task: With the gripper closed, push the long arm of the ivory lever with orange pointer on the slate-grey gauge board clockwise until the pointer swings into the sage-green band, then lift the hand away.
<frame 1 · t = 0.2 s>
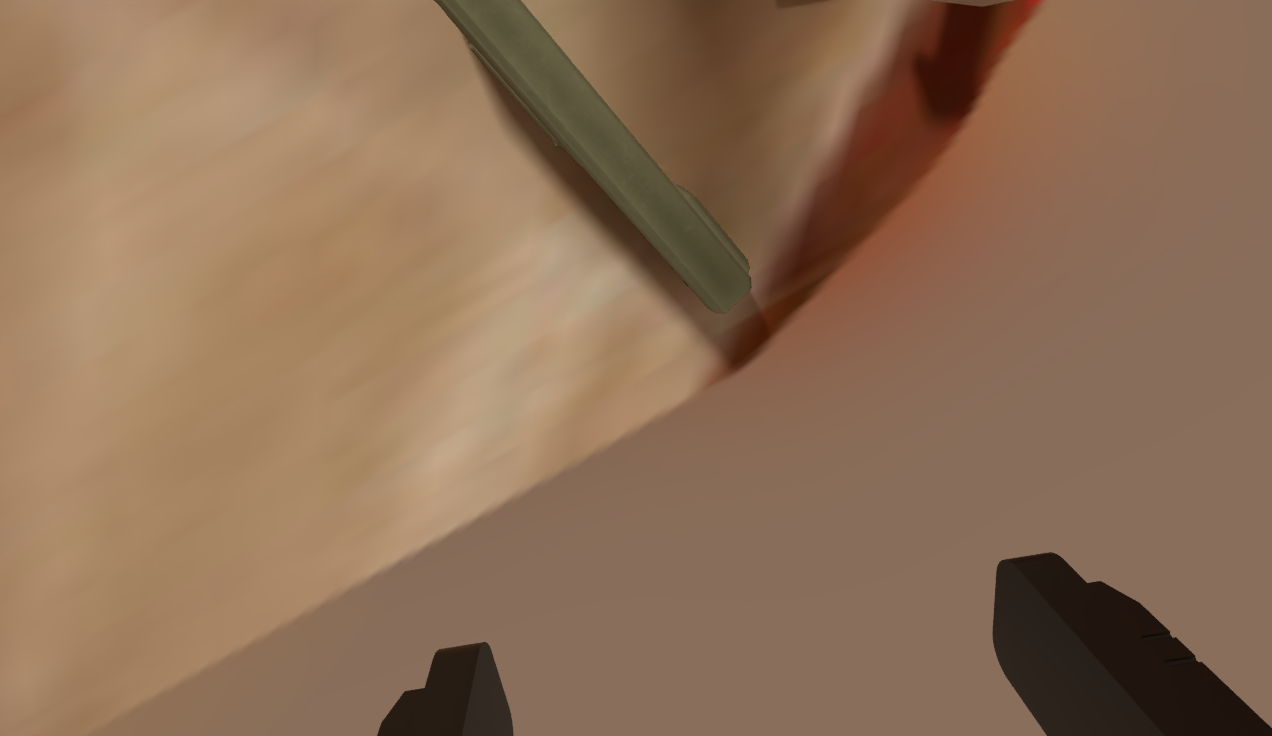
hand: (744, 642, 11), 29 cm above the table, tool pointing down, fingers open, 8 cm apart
handheld radio: (560, 89, 35), on the table
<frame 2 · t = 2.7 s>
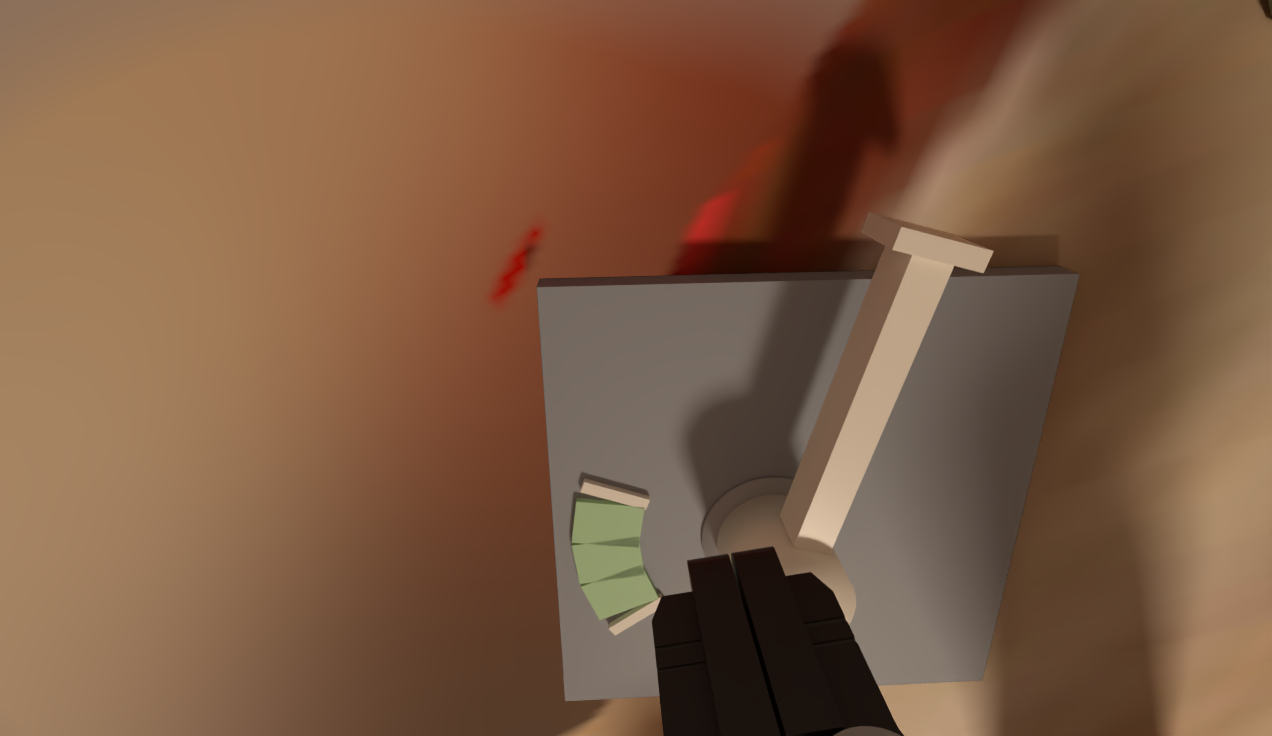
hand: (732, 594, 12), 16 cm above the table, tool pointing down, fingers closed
lever with orange pointer: (806, 510, 26), point 4 cm above the table, hinge at 0.0°
gauge board: (760, 517, 30), on the table
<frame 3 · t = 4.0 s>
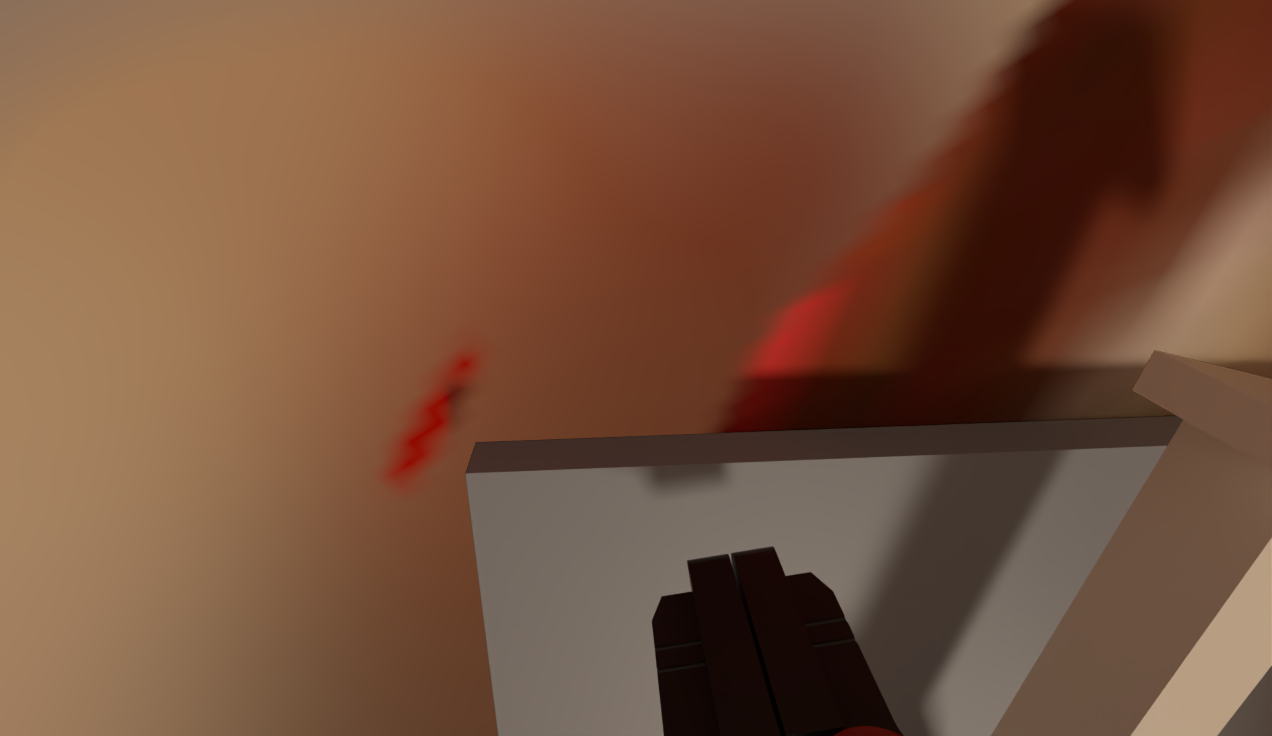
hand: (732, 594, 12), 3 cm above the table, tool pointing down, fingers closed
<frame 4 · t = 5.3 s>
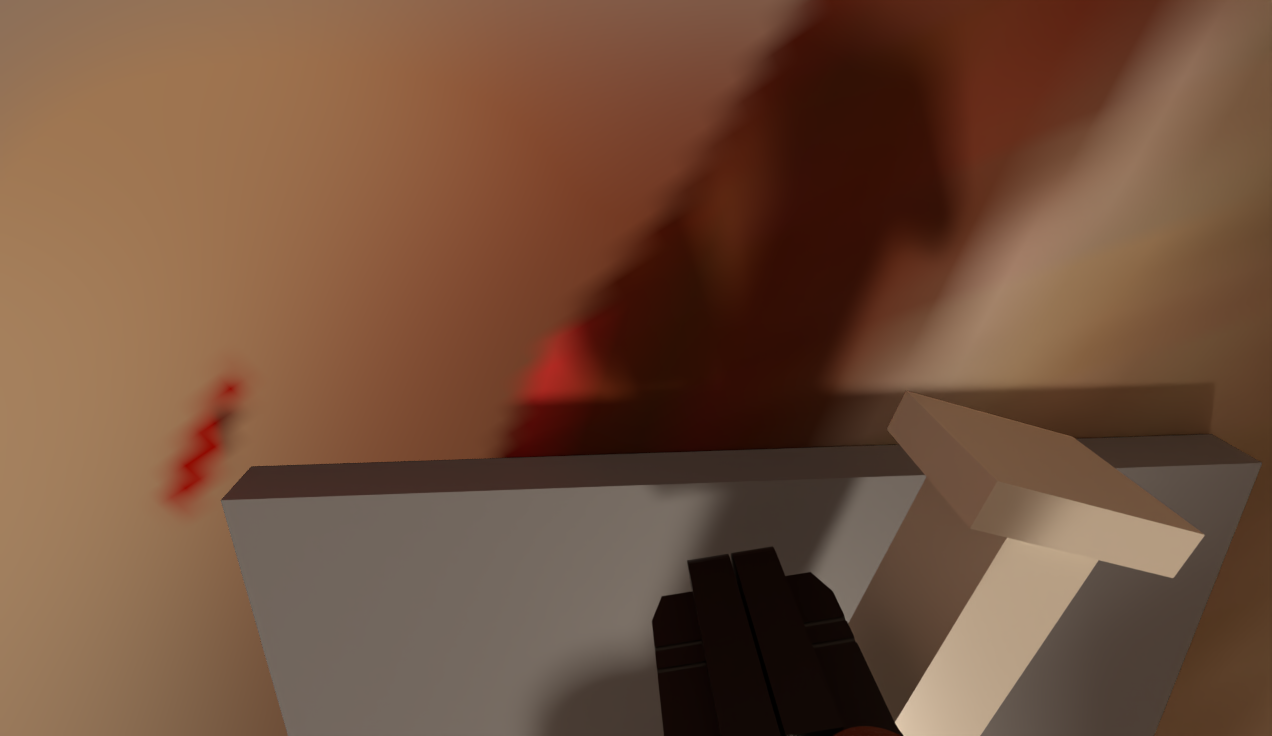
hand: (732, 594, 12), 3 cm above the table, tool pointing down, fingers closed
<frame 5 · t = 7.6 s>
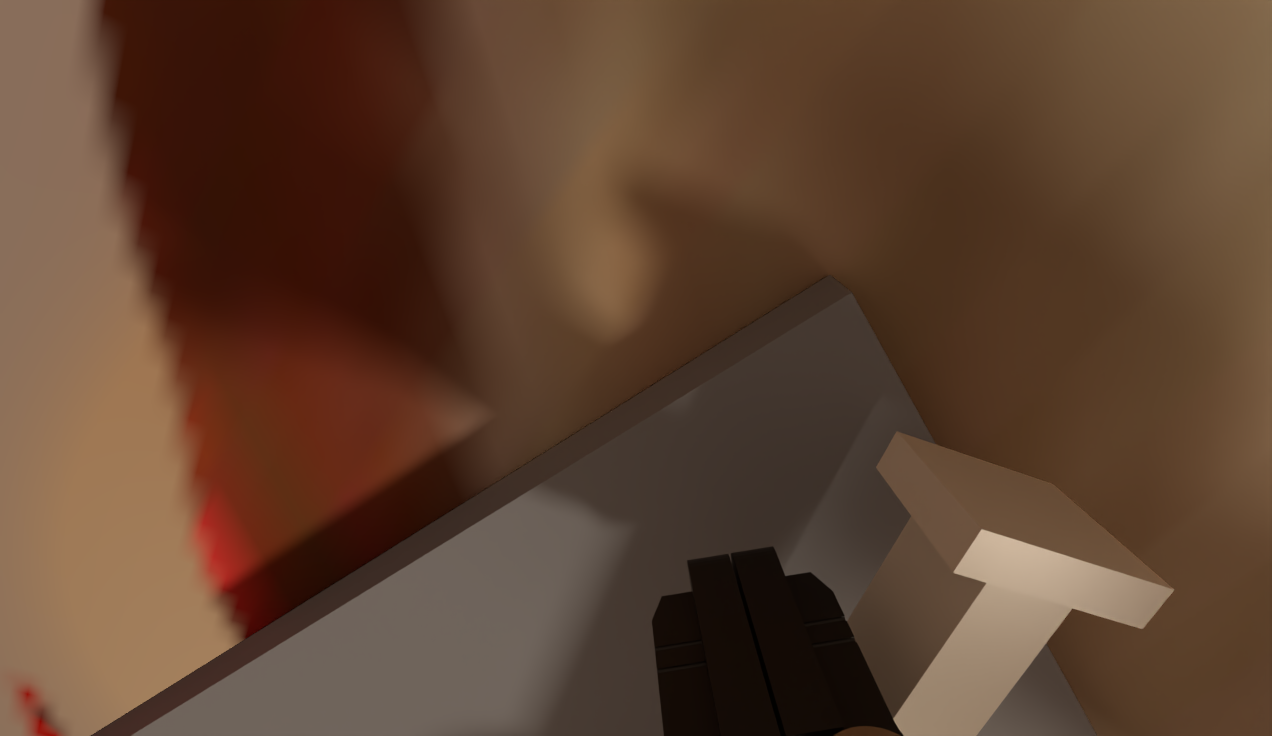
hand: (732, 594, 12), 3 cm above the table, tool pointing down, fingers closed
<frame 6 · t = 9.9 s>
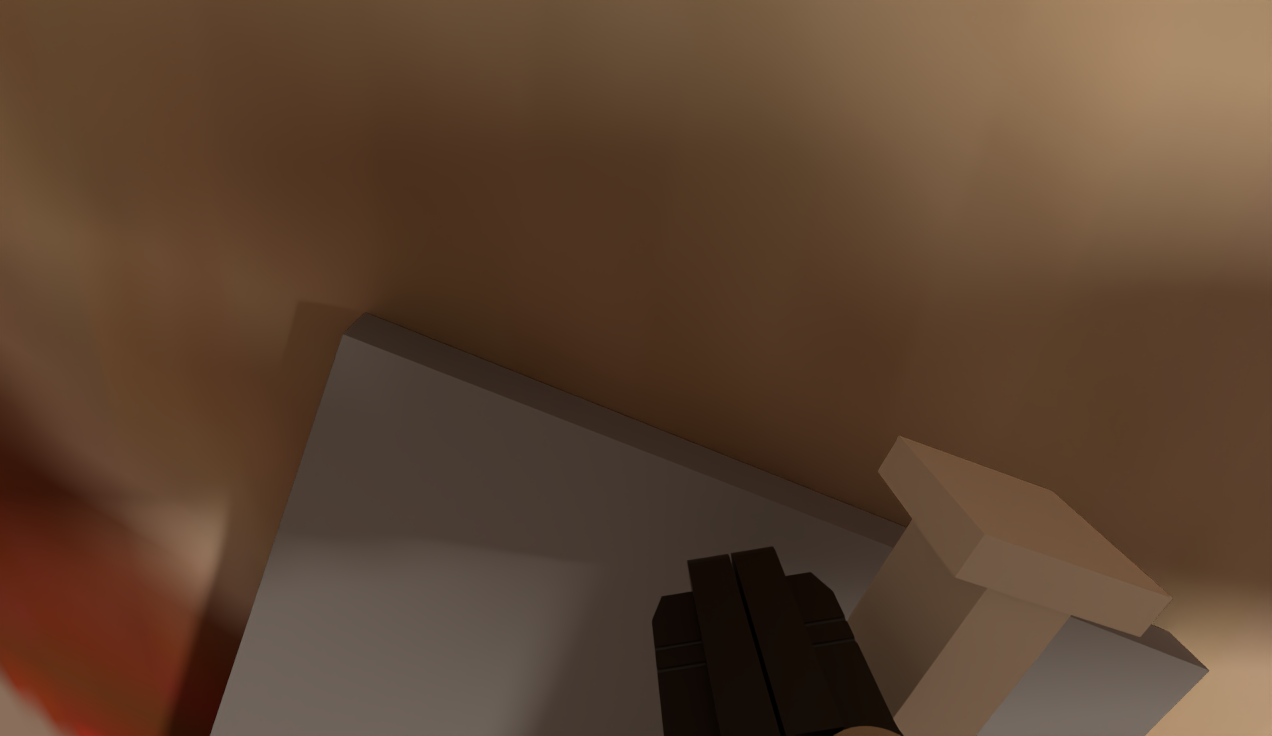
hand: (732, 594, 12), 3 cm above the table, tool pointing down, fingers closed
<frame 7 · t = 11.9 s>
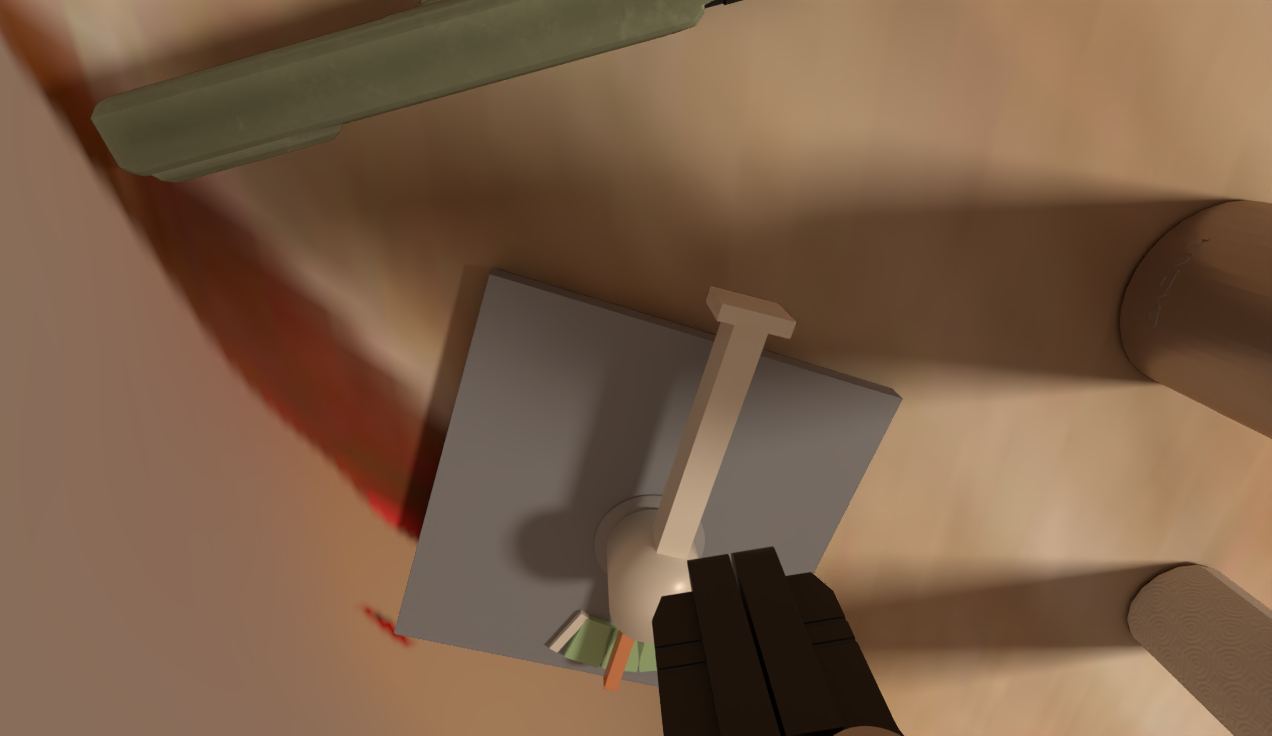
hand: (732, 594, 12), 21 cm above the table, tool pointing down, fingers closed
lever with orange pointer: (671, 523, 31), point 4 cm above the table, hinge at -72.0°
paper towel roll: (1171, 608, 41), on the table
handheld radio: (507, 48, 27), on the table
gauge board: (647, 528, 36), on the table
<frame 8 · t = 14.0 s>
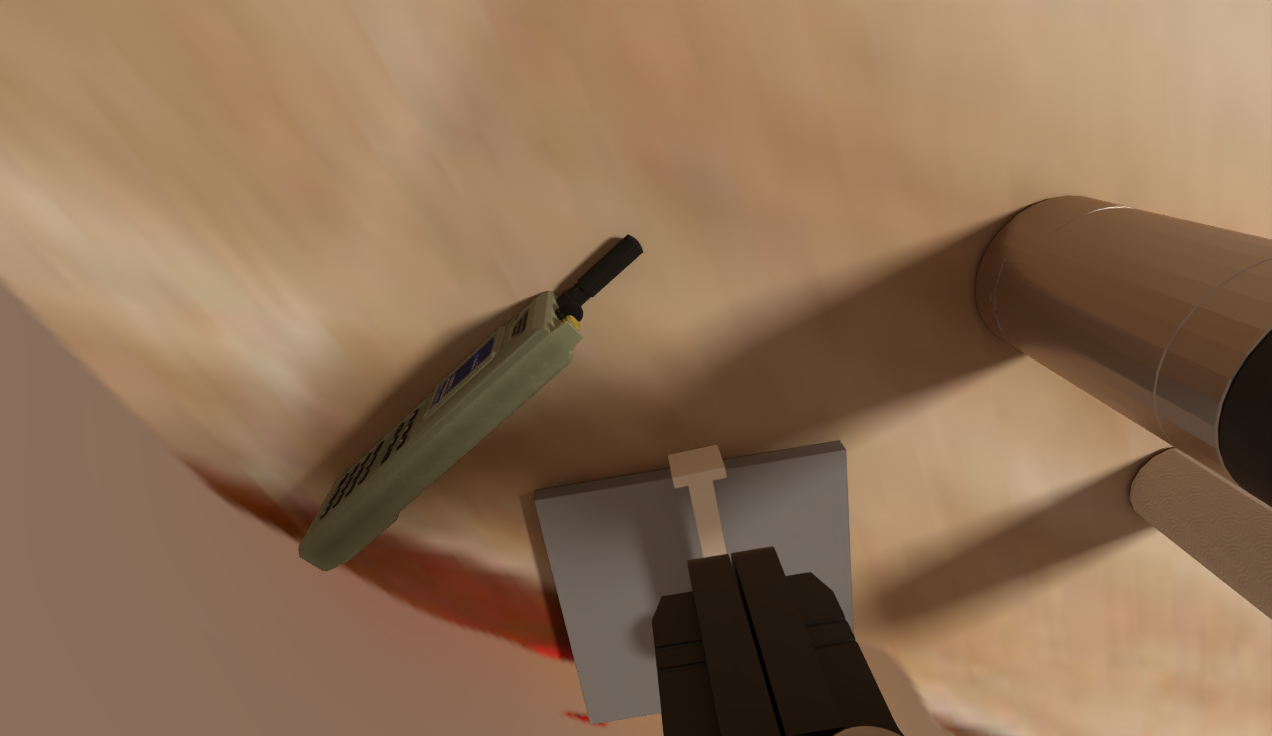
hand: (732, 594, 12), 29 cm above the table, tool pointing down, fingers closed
lever with orange pointer: (723, 600, 44), point 4 cm above the table, hinge at -72.0°
paper towel roll: (1171, 485, 47), on the table
handheld radio: (483, 374, 42), on the table
gauge board: (720, 595, 48), on the table
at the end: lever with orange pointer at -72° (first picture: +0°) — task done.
